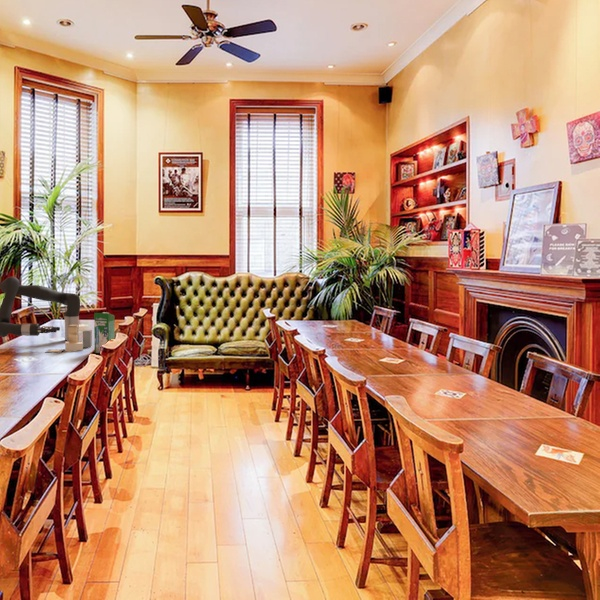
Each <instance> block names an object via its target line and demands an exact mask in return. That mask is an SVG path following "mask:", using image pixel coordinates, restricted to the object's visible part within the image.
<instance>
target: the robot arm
mask: <svg viewBox="0 0 600 600" xmlns="http://www.w3.org/2000/svg"><path fill="white" fill-rule="evenodd" d="M0 290H1V292H2V293H4V296H3V300H2V302H1V304H0V337H1V338H5V337H8V336H9V334H12V335H13V336H26V337H30V336H32V337H34V336H35V337H38V336H39V335H40V334H49V333H57V331H58V332H59V331H60V330H61V327H60V326H53V325H52V326H51V325H50V326H49V325H48V326H43V325H42V326H40V324H39V323H21V324H19V323H18V324H17V323H16V324H15V323H11V318H12V312H13V309H14V308H13V307H14V302H15V299H16V296H21V297H22V296H23V297H27V298H32V299H35V300H40V301H44V302H53V303H59V304H61V305H64V306H66V311H64V341H65V340H67V341H66V342H69V335H68V326H69V325H78V332H79V333H80V315H79V314H80V312H81V298H80V296H79V295H78V294H76V293H72V292H61V291H57V290H55V289H53V288H50V287H48V286H44V285H43V286H42V285H38V284H35V285H34V284H31V285H23V284H21V283H20V280H19V279H18V278H17V277H15V276H9V277H7V278H5V279H4V280H3V281H1V282H0Z"/></svg>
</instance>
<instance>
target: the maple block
mask: <svg viewBox="0 0 600 600" xmlns="http://www.w3.org/2000/svg"><path fill="white" fill-rule="evenodd" d="M68 335H69V341H68V342H69V343H78V342H79V341H80V331H79V332H78V325H69V326H68Z"/></svg>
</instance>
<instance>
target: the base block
mask: <svg viewBox="0 0 600 600" xmlns="http://www.w3.org/2000/svg"><path fill="white" fill-rule="evenodd" d="M64 350H65V352H66V351H68V352H75V351H74V350H83V351H84V348H83V340H79V342H78V343H69V341H65V349H64Z"/></svg>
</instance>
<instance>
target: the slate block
mask: <svg viewBox="0 0 600 600" xmlns="http://www.w3.org/2000/svg"><path fill="white" fill-rule="evenodd" d="M92 332H93V330H92V329H83V330H82V342H83V347H91V346H92V347H93V333H92ZM92 347H91V348H92Z"/></svg>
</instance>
